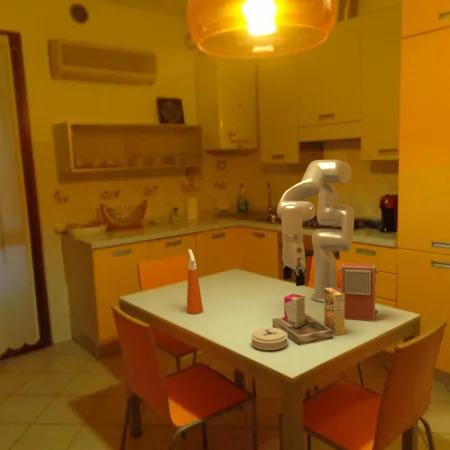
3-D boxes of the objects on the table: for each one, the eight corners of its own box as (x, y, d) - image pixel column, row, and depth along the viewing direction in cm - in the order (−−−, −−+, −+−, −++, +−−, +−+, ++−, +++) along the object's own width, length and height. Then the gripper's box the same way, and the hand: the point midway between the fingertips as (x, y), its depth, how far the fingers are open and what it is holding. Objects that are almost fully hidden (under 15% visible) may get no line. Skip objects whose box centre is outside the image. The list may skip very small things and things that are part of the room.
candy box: (323, 327, 179) (323, 288, 177) (334, 325, 180) (333, 286, 178) (334, 335, 171) (334, 294, 168) (345, 334, 172) (345, 293, 169)
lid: (268, 335, 175) (267, 322, 174) (295, 344, 165) (294, 330, 165) (243, 345, 166) (243, 332, 165) (271, 356, 157) (270, 341, 156)
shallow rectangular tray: (304, 320, 187) (304, 313, 187) (333, 338, 169) (332, 330, 168) (272, 326, 182) (272, 318, 182) (298, 345, 164) (297, 337, 163)
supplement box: (305, 324, 180) (305, 295, 178) (296, 329, 176) (296, 299, 174) (293, 321, 184) (292, 293, 182) (284, 325, 180) (283, 296, 178)
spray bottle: (199, 305, 211) (196, 247, 207) (204, 313, 200) (201, 252, 196) (184, 307, 209) (180, 248, 205) (188, 315, 199) (184, 253, 195)
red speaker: (339, 313, 193) (378, 316, 188) (337, 319, 187) (377, 322, 182) (339, 262, 190) (378, 263, 185) (337, 266, 183) (378, 268, 178)
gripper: (313, 240, 169) (314, 286, 172) (290, 232, 185) (291, 275, 188) (294, 243, 166) (296, 289, 169) (273, 234, 182) (274, 277, 185)
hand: (293, 282), depth 178 cm, fingers open, 9 cm apart
